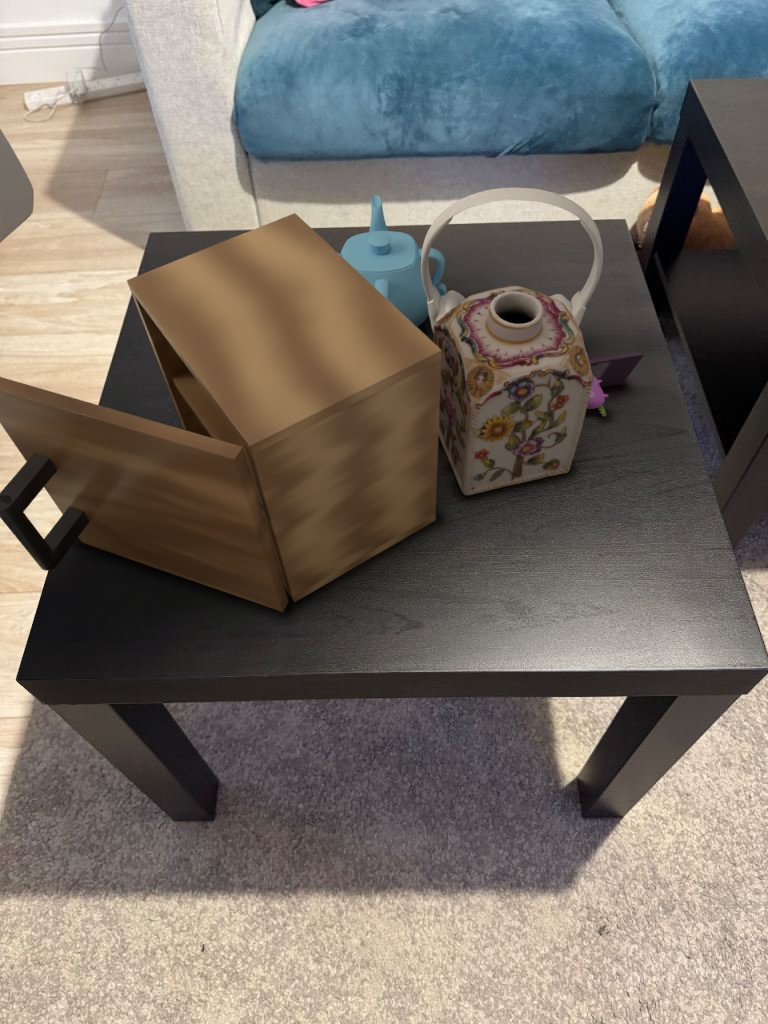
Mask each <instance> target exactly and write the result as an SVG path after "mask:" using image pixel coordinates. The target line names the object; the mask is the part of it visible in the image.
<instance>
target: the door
mask: <svg viewBox="0 0 768 1024" xmlns="http://www.w3.org/2000/svg"><path fill="white" fill-rule="evenodd" d="M0 425H1V426H2V428H3V429H4V431H5V432H6V434H7V435H8V437H9V438H10V439H11V441H12V443H13V445H14V446H15V447H16V448H17V450H18V452H19V453H20V455H21V456H22V457H23V459H24V460H25V463H24V464H23V465H22V467H21V468H20V469H19V470H18V471H17V472H16V474H14V476H13V477H12V478H11V479H10V481H8V483H7V484H6V485H5V486H4V488H3V489H2V490H1V491H0V519H1V520H2V521H3V523H4V524H5V525H6V527H7V528H8V529H9V530H10V532H11V533H12V534H13V535H14V537H15V538H16V539H17V540H18V542H19V543H20V544H21V546H23V548H24V549H25V550H26V551H27V553H28V554H29V555H30V556H31V557H32V559H33V561H35V563H36V564H37V565H38V566H39V567H40V569H41V570H43V571H45V572H46V571H48V572H49V571H51V570H54V569H55V568H56V567H57V566H58V565H59V563H60V562H61V561H62V560H63V559H64V557H65V556H66V554H67V553H68V552H69V550H70V549H71V547H72V546H73V545H74V543H75V542H76V541H77V539H79V541H80V542H81V543H82V544H85V545H87V546H91V547H94V548H97V549H100V550H103V551H104V552H108V553H111V554H114V555H117V556H120V557H123V558H126V559H129V560H132V561H134V562H137V563H140V564H143V565H146V566H147V567H148V566H149V567H152V568H154V569H157V570H160V571H164V572H167V573H169V574H172V575H174V576H177V577H180V578H183V579H186V580H189V581H192V582H195V583H198V584H201V585H204V586H207V587H209V588H212V589H216V590H218V591H221V592H224V593H227V594H230V595H233V596H236V597H239V598H241V599H245V600H247V601H250V602H253V603H256V604H258V605H261V606H264V607H267V608H270V609H273V610H276V611H278V612H282V613H284V611H285V610H286V607H287V605H288V604H289V597H288V595H287V594H288V593H287V591H286V589H285V587H284V584H283V581H282V577H281V574H280V571H279V567H278V564H277V561H276V557H275V554H274V551H273V547H272V544H271V540H270V537H269V534H268V530H267V527H266V524H265V520H264V517H263V514H262V510H261V507H260V504H259V500H258V497H257V493H256V490H255V487H254V483H253V480H252V477H251V473H250V470H249V467H248V463H247V460H246V457H245V453H244V450H243V447H241V446H238V445H234V444H231V443H227V442H224V441H221V440H217V439H214V438H210V437H207V436H203V435H200V434H196V433H193V432H189V431H186V430H184V428H179V427H175V426H172V425H169V424H165V423H161V422H159V421H154V420H152V419H148V418H144V417H141V416H138V415H134V414H131V413H127V412H123V411H120V410H116V409H113V408H110V407H106V406H103V405H99V404H96V403H92V402H88V401H85V400H82V399H79V398H75V397H72V396H68V395H64V394H61V393H58V392H54V391H51V390H47V389H44V388H40V387H37V386H33V385H30V384H26V383H23V382H21V381H20V382H19V381H16V380H13V379H11V378H10V379H9V378H6V377H2V376H0ZM43 489H45V491H46V492H47V494H48V495H49V497H50V498H51V500H52V501H53V502H54V504H55V506H56V507H57V509H58V510H59V511H60V513H61V514H62V515H61V516H60V517H59V519H58V520H57V521H56V523H55V524H54V525H53V527H52V528H51V529H50V531H49V532H48V533H47V534H46V536H44V537H43V536H42V534H41V533H40V532H39V530H38V529H37V528H36V526H35V525H34V524H33V522H32V521H31V520H30V518H29V517H28V516H27V515H26V513H25V511H26V510H27V508H28V507H29V506H30V505H31V503H32V502H33V501H34V500H35V498H36V497H37V496H38V495H39V494H40V492H41V491H42V490H43Z"/></svg>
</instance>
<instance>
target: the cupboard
mask: <svg viewBox="0 0 768 1024" xmlns="http://www.w3.org/2000/svg"><path fill="white" fill-rule="evenodd" d="M338 253H339V252H338V251H337V250H336V249H334V247H332V246H331V245H330V244H329V243H328V242H327V241H326V240H325V239H323V238H322V237H321V236H320V234H319V233H317V232H316V231H315V230H314V229H313V228H312V227H311V226H310V225H309V224H307V222H305V221H304V220H303V219H302V218H301V217H300V216H299V215H298V214H297V213H296V212H294V213H291V214H288V215H287V216H284V217H282V218H279V219H277V220H274V221H272V222H268V223H266V224H264V225H262V226H259V227H257V228H254V229H251V230H249V231H246V232H244V233H241V234H239V235H237V236H234V237H231V238H228V239H226V240H224V241H221V242H219V243H216V244H214V245H212V246H208V247H206V248H204V249H201V250H198V251H196V252H194V253H191V254H189V255H186V256H184V257H182V258H179V259H176V260H173V261H171V262H169V263H166V264H164V265H161V266H159V267H156V268H154V269H152V270H148V271H147V272H144V273H142V274H139V275H135V276H134V277H132V278H129V279H127V280H126V283H127V286H128V287H129V290H130V293H131V296H132V299H133V300H134V303H135V307H136V308H137V311H138V314H139V316H140V319H141V321H142V324H143V327H144V329H145V332H146V334H147V337H148V339H149V343H150V345H151V346H152V350H153V353H154V355H155V358H156V360H157V363H158V365H159V368H160V370H161V373H162V375H163V376H162V377H163V379H164V381H165V384H166V386H167V389H168V391H169V394H170V396H171V399H172V401H173V404H174V407H175V410H176V412H177V414H178V417H179V419H180V423H181V425H182V427H183V428H182V429H183V430H186V431H189V432H193V433H196V434H200V435H203V436H207V437H210V438H214V439H217V440H221V441H224V442H227V443H231V444H234V445H238V446H241V447H243V450H244V453H245V457H246V460H247V463H248V467H249V470H250V473H251V477H252V480H253V483H254V487H255V490H256V493H257V497H258V500H259V504H260V507H261V510H262V514H263V517H264V520H265V524H266V527H267V530H268V534H269V537H270V540H271V544H272V547H273V551H274V554H275V557H276V561H277V564H278V567H279V571H280V574H281V577H282V581H283V584H284V587H285V591H286V593H287V594H288V595H289V597H290V598H291V600H292V602H293V603H296V602H297V601H299V600H301V599H303V598H305V597H306V596H308V595H309V594H310V595H311V593H313V592H315V591H316V590H318V589H320V588H322V587H324V586H325V585H327V584H329V583H331V582H332V581H334V580H335V579H338V578H340V577H341V576H342V575H344V574H346V573H347V572H349V571H351V570H353V569H354V568H357V566H359V565H362V564H363V563H365V562H367V561H368V560H371V558H374V557H375V556H377V555H378V554H380V553H382V552H384V551H385V550H387V549H388V548H391V547H392V546H394V545H396V544H398V543H399V542H401V541H403V540H404V539H406V538H409V536H411V535H413V534H415V533H417V532H418V531H420V530H422V529H424V528H425V527H427V526H429V525H430V524H432V523H433V522H435V521H436V519H437V493H438V492H437V490H438V486H437V485H438V465H439V464H438V463H439V462H438V461H439V460H438V459H439V409H440V381H441V355H442V350H441V349H440V348H439V347H438V346H437V345H435V344H434V343H433V340H431V339H430V337H428V336H427V335H426V334H425V333H424V332H423V331H422V330H421V329H420V328H419V327H416V326H415V325H414V324H413V323H412V322H411V321H410V320H409V319H408V318H407V317H406V316H405V315H403V314H402V313H401V312H400V311H399V310H398V309H397V308H396V307H395V306H394V305H393V304H392V303H391V302H390V301H389V300H387V299H386V298H385V297H384V296H383V295H382V294H381V293H380V292H379V291H378V290H377V289H376V288H375V287H374V286H373V285H371V284H370V283H369V282H368V281H367V280H366V279H365V278H364V277H363V276H362V275H361V274H360V273H359V272H358V271H357V270H355V269H354V268H353V267H352V266H351V265H350V264H349V263H348V262H347V261H346V260H345V259H344V258H343V257H342V256H340V255H339V254H338Z"/></svg>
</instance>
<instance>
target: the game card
mask: <svg viewBox="0 0 768 1024" xmlns="http://www.w3.org/2000/svg"><path fill="white" fill-rule="evenodd" d="M644 356H645V355H644V351H637V352H632V353H631V352H630V353H623V354H618V355H613V356H606V357H599V358H593V359H590V364H591V367H594V366H597V365H598V364H605V363H608V364H607V365H606V367H605V368H604V370H603V371H602V373H601V374H600V376H599V377H598V379H597V377H596V376H595V375H593V378H594V381H593V386H592V389H591V393H590V396H589V400H588V405H587V408H586V410H587V409H588V410H595V409H598V411H600V412H599V414H601V417H606V416H607V413H606V412H607V411H606V409H605V407H604V406H603V405H604V404H605V401H606V398H608V397H609V394H608V393H604V391H603V389H602V388H607V387H611V386H613V387H614V386H618V385H622V384H624V383H625V381H626V380H627V379H628V377H629V376H630V374H631V373H632V372H633V371H634V369H635V368H636V367H637V365H638V364H639V362H640V361H641V360H642V359H643V357H644Z"/></svg>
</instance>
